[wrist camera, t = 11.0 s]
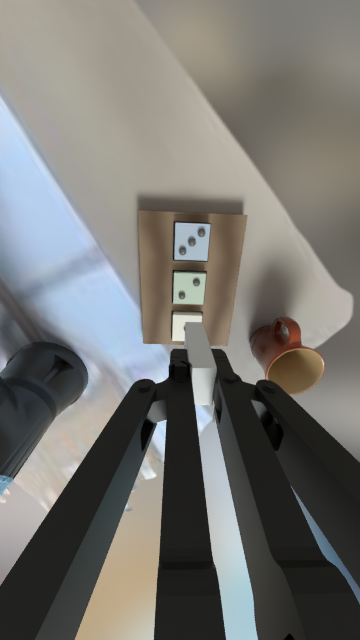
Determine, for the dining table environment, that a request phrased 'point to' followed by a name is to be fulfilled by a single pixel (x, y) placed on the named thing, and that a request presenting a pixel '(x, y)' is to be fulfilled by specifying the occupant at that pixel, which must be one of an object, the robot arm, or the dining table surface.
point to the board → (160, 266)
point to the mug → (287, 357)
